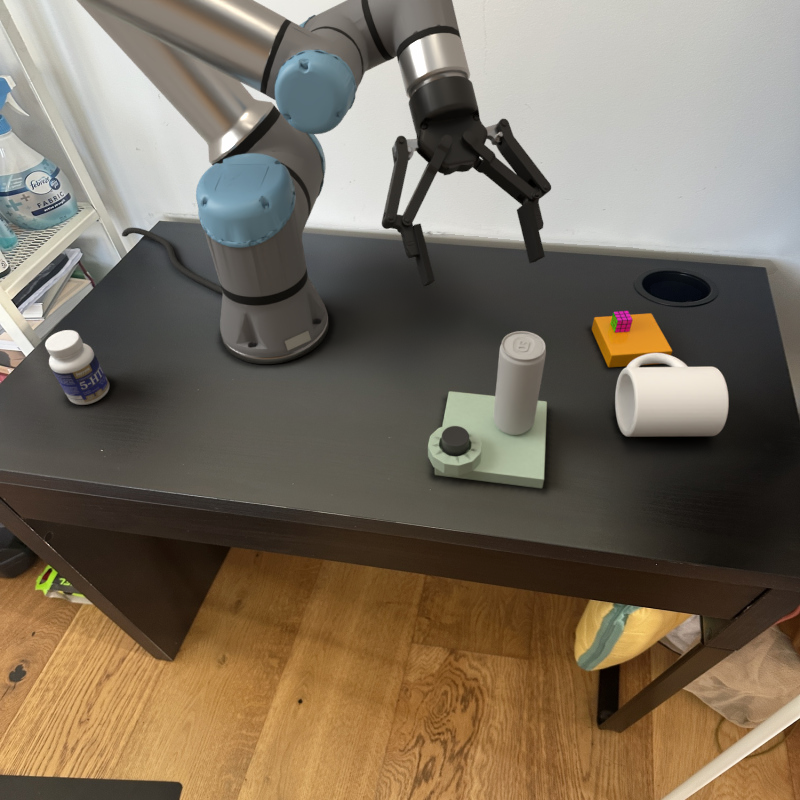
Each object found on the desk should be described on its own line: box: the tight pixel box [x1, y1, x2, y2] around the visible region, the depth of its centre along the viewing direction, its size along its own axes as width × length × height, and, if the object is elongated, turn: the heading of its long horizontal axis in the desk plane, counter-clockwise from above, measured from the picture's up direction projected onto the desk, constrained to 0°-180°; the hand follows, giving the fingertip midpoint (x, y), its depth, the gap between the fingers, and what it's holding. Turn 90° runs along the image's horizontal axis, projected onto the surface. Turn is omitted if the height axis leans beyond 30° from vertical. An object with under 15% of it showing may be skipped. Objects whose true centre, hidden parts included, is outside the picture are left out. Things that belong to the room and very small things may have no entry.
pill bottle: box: [44, 329, 110, 406], centre depth 80 cm, size 5×5×9 cm
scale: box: [427, 391, 548, 489], centre depth 73 cm, size 13×13×4 cm
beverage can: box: [493, 330, 547, 435], centre depth 69 cm, size 5×5×12 cm
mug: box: [614, 353, 730, 438], centre depth 73 cm, size 12×10×8 cm
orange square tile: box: [591, 310, 673, 368], centre depth 83 cm, size 8×8×4 cm
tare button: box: [442, 426, 469, 456], centre depth 69 cm, size 3×3×2 cm
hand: (484, 272), depth 72 cm, fingers open, 13 cm apart
